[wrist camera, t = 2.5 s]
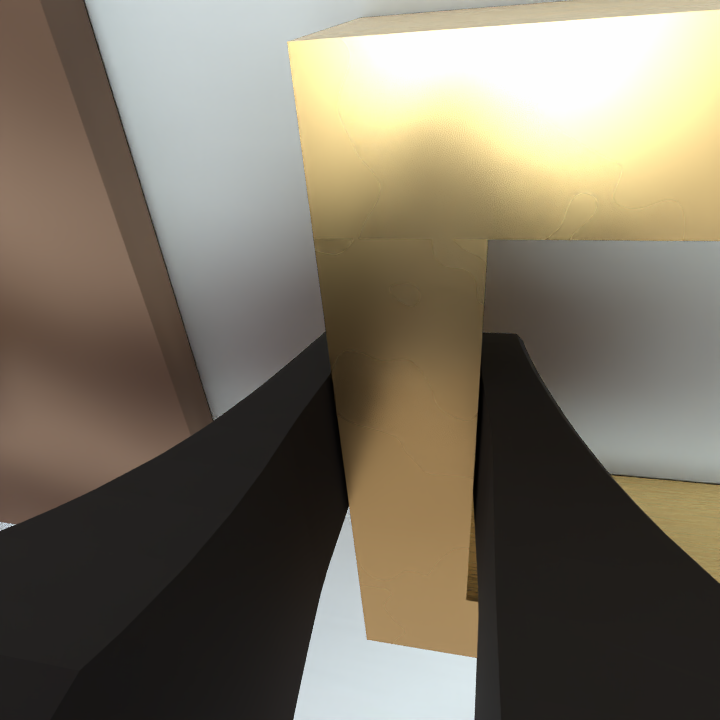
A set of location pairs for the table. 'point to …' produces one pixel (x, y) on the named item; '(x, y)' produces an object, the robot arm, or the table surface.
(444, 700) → the table surface
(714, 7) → the tan slotted block
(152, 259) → the board
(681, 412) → the table surface
